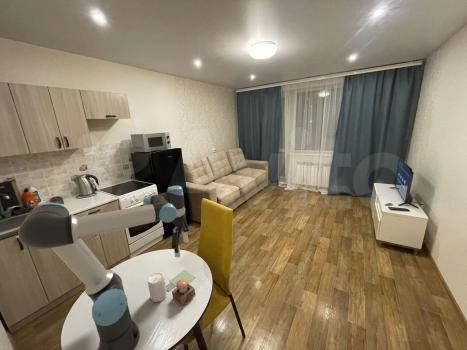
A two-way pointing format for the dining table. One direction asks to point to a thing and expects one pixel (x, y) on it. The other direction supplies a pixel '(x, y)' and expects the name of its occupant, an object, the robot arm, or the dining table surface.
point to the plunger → (182, 286)
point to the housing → (186, 297)
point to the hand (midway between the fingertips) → (182, 248)
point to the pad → (183, 275)
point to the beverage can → (157, 287)
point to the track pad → (169, 287)
